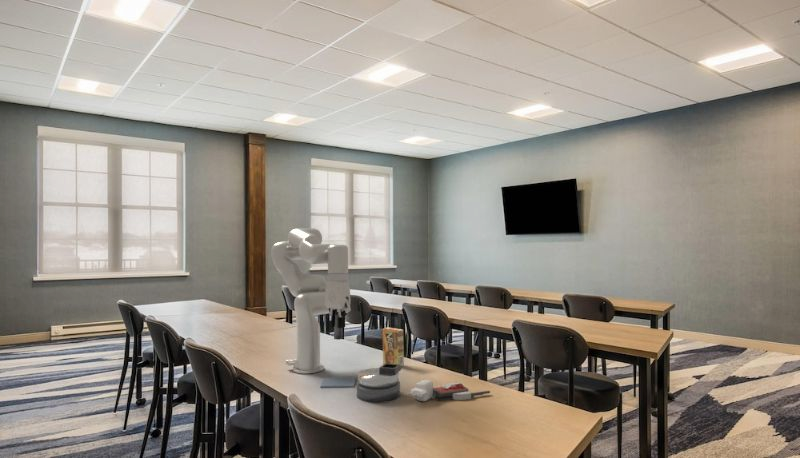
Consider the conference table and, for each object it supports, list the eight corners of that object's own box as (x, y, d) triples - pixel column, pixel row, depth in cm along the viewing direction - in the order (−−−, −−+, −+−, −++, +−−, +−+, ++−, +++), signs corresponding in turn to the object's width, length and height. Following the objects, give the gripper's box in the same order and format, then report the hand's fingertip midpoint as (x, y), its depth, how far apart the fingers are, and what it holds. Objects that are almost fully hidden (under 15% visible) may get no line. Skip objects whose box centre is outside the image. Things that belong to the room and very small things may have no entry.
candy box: (404, 365, 197) (404, 329, 198) (397, 367, 194) (397, 330, 195) (388, 362, 203) (388, 326, 204) (382, 364, 200) (381, 328, 200)
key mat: (320, 387, 169) (320, 386, 169) (323, 379, 179) (323, 377, 179) (353, 387, 169) (353, 385, 169) (355, 379, 179) (355, 377, 179)
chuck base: (355, 403, 153) (355, 390, 153) (357, 388, 168) (357, 377, 168) (401, 402, 153) (401, 389, 153) (399, 387, 168) (399, 376, 168)
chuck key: (336, 339, 172) (337, 312, 173) (332, 338, 174) (333, 311, 175) (343, 339, 174) (344, 311, 175) (339, 337, 176) (340, 311, 177)
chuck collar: (390, 390, 152) (390, 375, 152) (351, 386, 156) (351, 371, 156) (403, 378, 165) (403, 364, 165) (367, 375, 169) (367, 361, 170)
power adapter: (417, 408, 148) (417, 389, 148) (404, 405, 151) (404, 386, 151) (435, 397, 157) (434, 380, 157) (422, 395, 160) (422, 378, 160)
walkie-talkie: (438, 404, 152) (491, 397, 159) (438, 391, 152) (491, 383, 159) (427, 396, 160) (478, 389, 167) (427, 383, 160) (478, 377, 167)
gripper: (316, 277, 178) (316, 325, 177) (344, 279, 166) (344, 331, 166) (332, 276, 183) (332, 323, 183) (360, 278, 172) (360, 328, 172)
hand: (338, 326), depth 174 cm, fingers closed on chuck key, 3 cm apart
